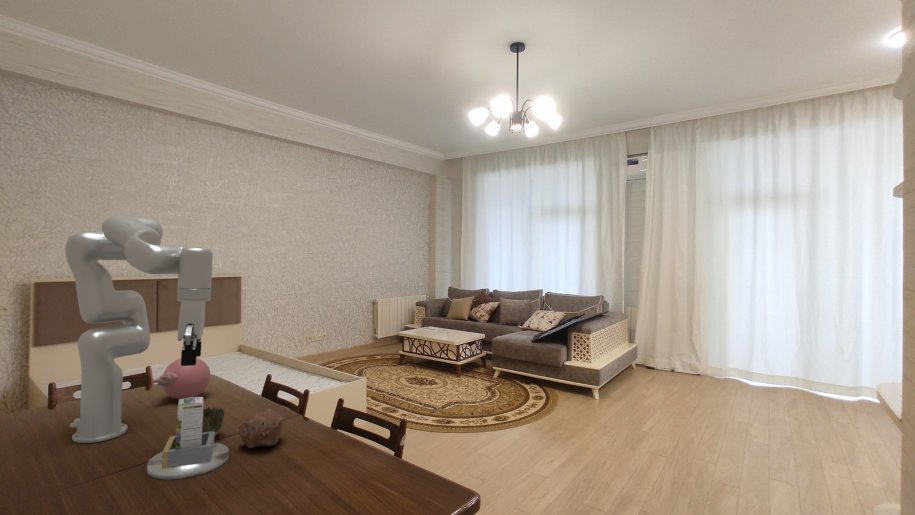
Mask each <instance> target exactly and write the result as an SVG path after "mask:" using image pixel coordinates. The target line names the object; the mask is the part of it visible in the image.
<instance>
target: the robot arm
mask: <svg viewBox="0 0 915 515" xmlns="http://www.w3.org/2000/svg"><path fill="white" fill-rule="evenodd" d="M163 235H164V233H163V227H162V225H161V223H160V222H159V221H158V220H156V219H154V218H151V217H148V216H147V217H146V216H135V215H125V214H117V215H116V214H115V215H112V216H110V217H108V218H106V219H105V220H104V221H103V222H102V225H101V231H99V230H98V231H97V230H95V231H91V230H90V231H89V230H88V231H84V230H83V231H79V232H76V233H73V234H71V235H70V236H69V238H68V239H67V241H66V244H65V249H64V250H65V260H66V261H67V265H68V266H69V269H70V271H71V273H72V275H73V277H74V280H75V281H74V282H75V288H76V295H77V302H78V307H79V308H78V309H79V315H80V318H81V319H82V320H83V321H84V322H85V323H88V324H105V323H113V322H114V323H115V322H122V324H120V325H111V326H109V325H108V326H101V327H95V328H91V329H88V330H87V331H84V332H83V333H82V334H81V335H80V336H79V338H78V340H77V349H78V354H79V360H80V373H81V374H80V379H81V380H80V408H79V409H80V411H79V414H80V416H79V417H77V418H75V419H74V420H73V422H71V423H70V424H69V428H76V431H75V432H74V433H73V434H72V436H71V437H72V438H71V439H72V441H73V442H74V443H78V444H91V443H98V442H103V441H108V440H112V439H114V438H117V437H120V436H121V435H124V434H125V433H126V432H128V429H129V427H128V425H127V424H126V423H123V422H122V412H123V406H122V405H123V382H124V381H123V377H124V375H123V373H124V372H123V370H122V368H121V367H120V365H119V364H117V362H116V361H115V359H117V358H122V357H127V356H128V357H129V356H133V355H138V354H141V353H144V352H146V351H147V350H148V349H149V347H150V344H151V331H150V325H149V319H148V314H147V306H146V303H145V300H144V297H143V296H142V295H141V294H140V293H139V292H137V291H135V290H131V289H126V290H124V289H123V290H116V289H115V288H114V287H115V286H114V284H113V283H114V282H113V277H112V274H111V273H110V272H109V270H108V269H107V268H106V267H105V266H103V265H102V263H100V262H99V261H126V262H127V263H128V264H129V265H130V266H132V267H133V268H134V269H136V270H138V271H140V272H143V273H145V274H149V275H168V274H169V275H170V274H172V275H177V288H176V289H177V290H176V291H177V292H176V294H177V295H176V301H177V302H180V306H179V307H180V308H179V314H178V315H179V316H178V326H177V327H178V328H177V335H176V336H177V338H176V339H177V341H179V342H181V341H182V340H183V341H182V346H181V352H180V354H181V357H180V359H181V366H193V365H196V358H197V357H200V356H201V355H202V341H201V340H202V336H203V334H204V329H205V328H204V327H205V320H206V318H205V317H206V302H210V301H211V295H212V280H213V279H212V276H213V260H214V259H213V252H212V250H211V249H210V248H206V247H194V246H189V245H187V246H186V245H169V244H161V243H162V238H163Z"/></svg>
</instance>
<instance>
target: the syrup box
mask: <svg viewBox="0 0 915 515" xmlns="http://www.w3.org/2000/svg"><path fill="white" fill-rule="evenodd" d="M203 409H204V397H203V396H196V397H190V398H184V399H179V400H178V404H177V418H176V428H175V429H176V430H175V432H176V434H175V436H176V449H179V448H186V447H194V446H202V428H203Z"/></svg>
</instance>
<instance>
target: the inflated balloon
mask: <svg viewBox="0 0 915 515" xmlns="http://www.w3.org/2000/svg"><path fill="white" fill-rule="evenodd" d="M210 380H211V370H210V367H209V366H208V365H207V363H206V362H205V361H203V360H202V359H200V358H197V357H196V365H193V366H181V358H178V359H176V360H174V361H173V362H171V363H170V364H168V366H167V367H166V368H165V370H164V372H163V373H162V375H160V376H159V377H157V378H154V379H153V380H152V381H151V382H152V384H156V383H157V386H161V387H162V389H163V391H164V392H165V394H166V395H167V396H168V397H171V399H174V400H177V401H179V399H184V398H190V397H199V396H200V395H202V393H203V392H204V391H205V390H206V389H207V388H208V386H209V385H210V382H211V381H210Z"/></svg>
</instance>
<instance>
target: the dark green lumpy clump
mask: <svg viewBox="0 0 915 515" xmlns="http://www.w3.org/2000/svg"><path fill="white" fill-rule="evenodd" d="M225 410H226V409H225V408H224V407H219V406H218V407H217V408H216V407H215V406H213V407H212V408H211V407H209V406H208V407H206V408H205V409H204V408H203V428H202V433H203V432H211V431H215V438H216V437H217V435H218V434H217V432H219V431H220V430H221V429H222V427H223V423H224V418H225V417H224V416H225Z"/></svg>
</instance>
